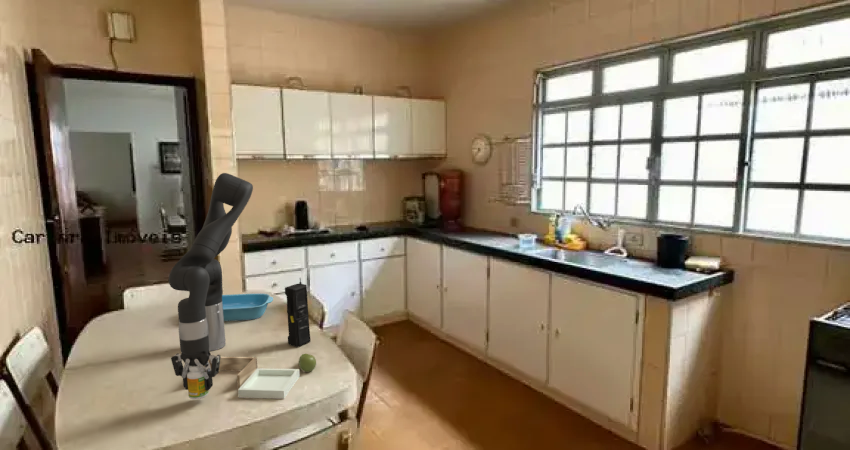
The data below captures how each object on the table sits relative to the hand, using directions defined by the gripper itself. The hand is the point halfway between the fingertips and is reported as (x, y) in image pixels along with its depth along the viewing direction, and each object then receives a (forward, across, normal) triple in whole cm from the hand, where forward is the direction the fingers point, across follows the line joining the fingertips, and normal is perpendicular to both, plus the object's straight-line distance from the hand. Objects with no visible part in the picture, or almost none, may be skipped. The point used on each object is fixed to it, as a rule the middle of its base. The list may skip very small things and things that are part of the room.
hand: (198, 388), depth 137 cm
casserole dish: (+5, -26, +73) cm, 78 cm away
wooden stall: (+4, 0, +14) cm, 15 cm away
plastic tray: (+4, +17, +10) cm, 20 cm away
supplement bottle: (+2, 0, 0) cm, 2 cm away
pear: (+4, +25, +23) cm, 34 cm away
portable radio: (+4, +15, +43) cm, 46 cm away
